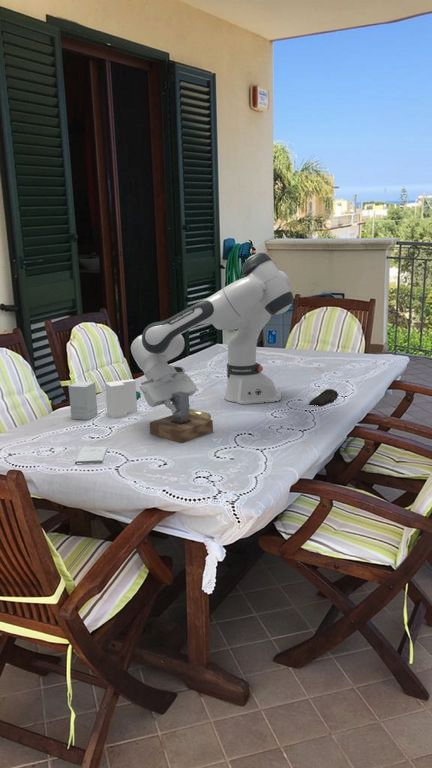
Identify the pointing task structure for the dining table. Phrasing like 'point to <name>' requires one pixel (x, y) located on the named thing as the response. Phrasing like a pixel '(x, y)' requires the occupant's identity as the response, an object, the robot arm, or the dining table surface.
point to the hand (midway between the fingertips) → (182, 409)
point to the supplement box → (83, 400)
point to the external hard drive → (91, 455)
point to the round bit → (199, 413)
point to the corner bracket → (121, 398)
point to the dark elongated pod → (324, 398)
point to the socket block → (181, 428)
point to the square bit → (181, 407)
